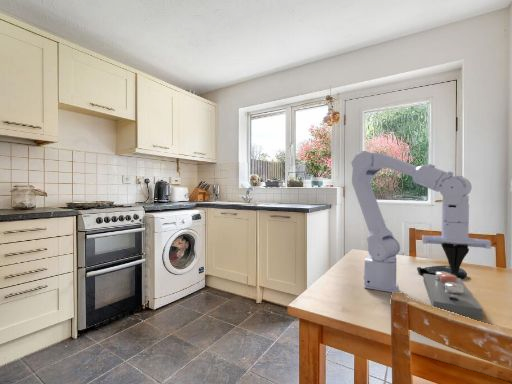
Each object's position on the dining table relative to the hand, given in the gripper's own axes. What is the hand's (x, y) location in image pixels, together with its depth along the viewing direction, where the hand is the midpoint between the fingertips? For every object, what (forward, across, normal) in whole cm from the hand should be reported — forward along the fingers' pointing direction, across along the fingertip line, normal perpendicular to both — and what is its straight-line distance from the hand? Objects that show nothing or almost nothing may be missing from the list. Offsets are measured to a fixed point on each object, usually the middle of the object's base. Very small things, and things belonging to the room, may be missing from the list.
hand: (454, 272), depth 71 cm
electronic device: (+10, -2, -29) cm, 31 cm away
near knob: (+7, 0, +1) cm, 7 cm away
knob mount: (+9, 0, -7) cm, 12 cm away
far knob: (+9, 0, -15) cm, 18 cm away
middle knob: (+7, 0, -7) cm, 10 cm away
